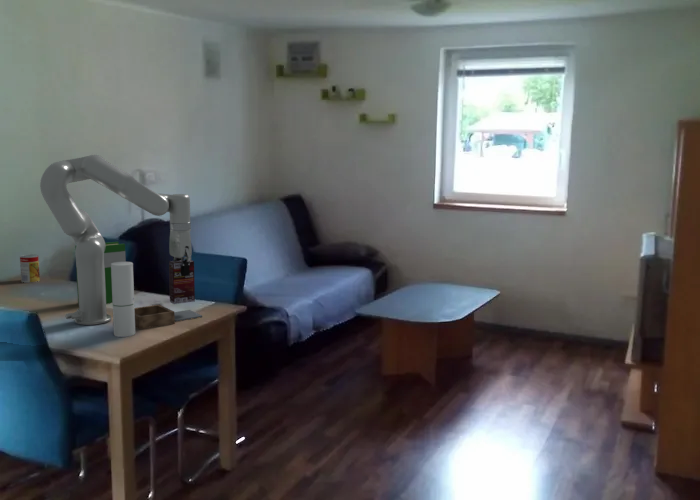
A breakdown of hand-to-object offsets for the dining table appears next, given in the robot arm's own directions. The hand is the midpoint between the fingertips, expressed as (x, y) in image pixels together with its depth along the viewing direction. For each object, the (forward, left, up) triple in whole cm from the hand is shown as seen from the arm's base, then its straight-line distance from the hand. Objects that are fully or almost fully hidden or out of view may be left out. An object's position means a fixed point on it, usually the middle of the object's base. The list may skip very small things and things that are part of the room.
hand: (181, 274), depth 261 cm
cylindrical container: (-27, -10, -17) cm, 33 cm away
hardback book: (-17, +40, -17) cm, 47 cm away
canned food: (-30, +99, -17) cm, 105 cm away
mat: (0, 0, -17) cm, 17 cm away
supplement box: (0, 0, -11) cm, 11 cm away
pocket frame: (-14, -1, -17) cm, 21 cm away
